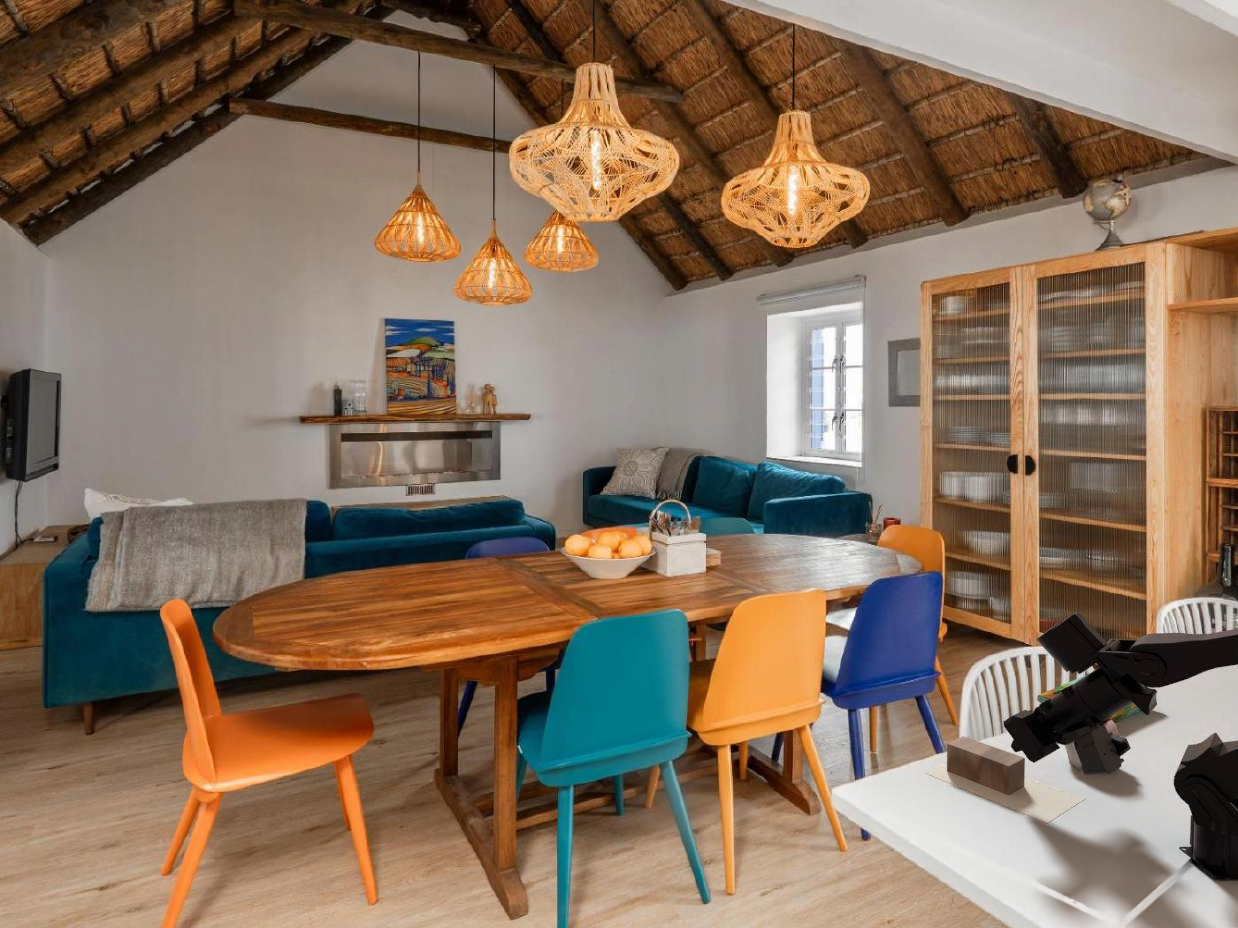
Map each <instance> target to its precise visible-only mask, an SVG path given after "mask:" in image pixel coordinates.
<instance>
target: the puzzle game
mask: <svg viewBox="0 0 1238 928" xmlns="http://www.w3.org/2000/svg"><path fill="white" fill-rule="evenodd" d="M1085 676H1086V675H1084V676H1081V677H1079V678H1076V679H1074V680H1071V681H1069V682H1066V683H1064V684H1062V685H1060V686H1056V687H1055V688H1052V689H1050V690H1047V691H1044V692H1042V693H1040V694H1038V695H1037V699H1036V700H1037V702H1039V703H1040V704H1041V703H1043V702H1044V701H1046V700H1049V699H1051V698H1053V697H1054V696H1056V695H1057V694H1059V693H1060V692H1061V690H1062V689H1064V688H1066V687H1068V686H1070V685H1072V684H1074V683H1076V682H1077V681H1079V680H1080V679H1082V678H1083V677H1085ZM1139 712H1142V711H1141V710H1140V709H1139V708H1138V707H1137V706H1136V705H1135V704H1134V703H1133V704H1131V705H1129V706H1128V707H1126V708H1124V709H1123V710H1121V711H1119V712H1118V713H1116V714H1114V715H1113V716H1112V717H1110V719H1111V720H1112V721H1113V722H1114V723H1115V724H1116V723H1117V722H1119V720H1120V721H1122V720H1123V719H1125V718H1128V717H1131V716H1132V715H1134V714H1137V713H1139ZM1121 719H1122V720H1121Z"/></svg>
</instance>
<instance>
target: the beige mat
mask: <svg viewBox="0 0 1238 928" xmlns="http://www.w3.org/2000/svg"><path fill="white" fill-rule="evenodd" d="M925 775H929V776H931V777H933V778H935V779H938V780H941V781H943V782H945V783H948V784H951V785H952V786H956V787H957V788H960V789H963V790H965V791H968V792H969V793H970V792H971V793H972V794H974V795H977V796H980V797H982V798H985V799H988V800H990V801H992V802H994V803H997V804H999V805H1002V806H1004V807H1007V808H1008V809H1012V810H1014V811H1017V812H1019V813H1021V814H1024V815H1026V816H1028V817H1031V818H1034V819H1036V820H1038V821H1041V822H1043V823H1046V824H1049V823H1050V822H1052V821H1053V820H1055V819H1057V818H1058V817H1060V816H1061V815H1064V814H1065V813H1066V812H1068V811H1069V810H1071V809H1072V808H1075V807H1076V806H1077V805H1079V804H1080V803H1081V802H1083V801H1084V800H1086V798H1083V797H1081V796H1078V795H1075V794H1072V793H1070V792H1067V791H1065V790H1062V789H1059V788H1057V787H1054V786H1051V785H1049V784H1046V783H1043V782H1041V781H1038V780H1036V779H1035V780H1034V779H1032V778H1029V777H1027V776H1025V779H1024V787H1023V788H1021V789H1019V790H1018V791H1016V792H1014V793H1012V794H1011V795H1009V796H1008V795H1006V794H1003V793H1001V792H998V791H996V790H993V789H991V788H988V787H986V786H983V785H981V784H978V783H976V782H973V781H971V780H968V779H966V778H963V777H961V776H958V775H956V774H953V773H951V772H948V771H947V761H946V762H945V763H942V764H941V765H938V766H935V768H931V769H930V770H928V771H926V772H925Z"/></svg>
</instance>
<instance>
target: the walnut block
mask: <svg viewBox="0 0 1238 928" xmlns="http://www.w3.org/2000/svg"><path fill="white" fill-rule="evenodd" d="M946 747H947V748H946V752H947V753H946V762H947V771H948V772H951V773H953V774H956V775H958V776H961V777H963V778H966V779H968V780H971V781H973V782H976V783H978V784H981V785H983V786H986V787H988V788H991V789H993V790H996V791H998V792H1001V793H1003V794H1006V795H1008V796H1009V795H1011V794H1012V793H1014V792H1016V791H1018V790H1019V789H1021V788H1023V787H1024V779H1025V777H1026V776H1025V774H1026V772H1025V770H1026V769H1025V767H1026V759H1025V756H1021V755H1018V754H1015V753H1013V752H1009V751H1006V750H1003V749H1001V748H998V747H995V746H992V745H989V744H987V743H983V742H981V741H979V740H978V741H977V740H975V739H972V738H969V737H966V736H961V737H958V738H956V739H954V740H951V741H950V742H948V743H947V744H946Z"/></svg>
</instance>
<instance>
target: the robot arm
mask: <svg viewBox="0 0 1238 928" xmlns="http://www.w3.org/2000/svg"><path fill="white" fill-rule="evenodd" d="M1035 640H1036V641H1037V642H1038V643H1039V645H1040V646H1041V647H1043V649H1044V650H1045V651H1046V652H1047V653H1048V654H1049V655H1050V656H1051V658H1053V660H1055V662H1056V663H1057V664H1058V665H1059V666H1060V668H1062V669H1063V670H1064V671H1065V672H1067V673H1068V672H1069V673H1071V674H1072V675H1073V674H1074V673H1077V675H1082V673H1084V672H1086V671H1087V670H1089V669H1090V668H1091V667H1093V666H1094V665H1096V666H1097V668H1095V669H1094V670H1093V671H1091V672H1089V673H1088V674H1086V675H1084V676H1085V677H1083V676H1082V677H1083V678H1082V679H1080V680H1079V681H1077V682H1076V683H1074V684H1072V685H1070V686H1068V687H1066V688H1064V689H1062V690H1061V692H1060V693H1059V694H1057V695H1056V696H1054V697H1053V698H1051V699H1049V700H1046V701H1044V702H1043V703H1040V704H1039V705H1038V706H1037V707H1035V708H1034V709H1033V710H1032V709H1030V710H1026V709H1024V710H1021V711H1019V712H1018V713H1015V714H1013V715H1011V716H1010V717H1008V718H1006V719H1005V720H1003V727H1004V729H1005V730H1006V731H1007V733H1008V734H1009V735H1010V736H1011V738H1012V739H1013V740H1012V741H1011V743H1010V748H1011V749H1012V750H1013V752H1015V753H1018V752H1021V751H1022V753H1023V754H1024V755H1025V757H1026V758H1027V759H1028V761H1030V762H1032V763H1033V764H1034V763H1036V762H1038V761H1040V760H1042V759H1044V758H1046V757H1048V756H1050V755H1051V754H1053V753H1055V752H1056V751H1057V750H1059V749H1061V746H1059V745H1062V746H1065V745H1068V744H1070V743H1072V742H1073V741H1074V747H1075V750H1076V752H1077V755H1078V757H1079V759H1080V762H1081V764H1082V766H1081V768H1082V770H1081V771H1082V772H1083V773H1084V775H1086V776H1098V775H1110V774H1113V773H1115V772H1116V771H1117V770H1119V769H1120V768H1121V767H1122V764H1123V763H1124V762H1125V760H1124V758H1121V757H1122V756H1123V755H1125V754H1126V753H1127V752H1128V751H1130V750H1131V744H1130V743H1129V740H1128V739H1127V738H1126V737H1124V736H1123V737H1122V736H1121V735H1120V736H1117V735H1114V734H1113V733H1112V732H1108V731H1107V729H1106V727H1105V725H1104V724H1105V723H1107V722H1108V721H1110V720H1111V719H1110V717H1112V716H1113V715H1114V714H1116V713H1118V712H1119V711H1121V710H1123V709H1124V708H1126V707H1128V706H1129V705H1131V704H1133V703H1134V704H1135V705H1136V706H1137V707H1138V708H1139V709H1140V710H1141V711H1140V712H1141V713H1143V714H1144V715H1145V716H1149V715H1150V714H1151V713H1152V712H1153V711H1154V709H1155V708H1156V707H1157V706H1158V701H1157V694H1158V689H1157V688H1159V689H1160V688H1164V687H1166V686H1167V687H1168V686H1171V685H1173V684H1176V683H1177V684H1178V683H1179V682H1183V681H1186V680H1188V679H1191V678H1193V677H1196V676H1199V675H1200V674H1203V673H1205V672H1207V671H1211V670H1213V669H1217V668H1218V669H1219V668H1225V667H1231V666H1232V667H1233V666H1238V628H1234V629H1229V630H1228V629H1227V630H1222V631H1217V632H1216V631H1215V632H1211V633H1185V632H1161V633H1158V632H1157V633H1146V634H1145V635H1142V636H1140V637H1139V638H1137V639H1136V638H1135V639H1133V638H1132V639H1131V638H1130V639H1129V638H1110V639H1109V640H1108V641H1107V640H1105V639H1104V638H1103V637H1102V636H1101V635H1100V634H1099V632H1098V631H1096V630H1095V628H1093V627H1092V626H1091V624H1090V623H1089V622H1088V620H1087V619H1086V617H1085V616H1084V615H1083V614H1082V613H1081V612H1079V611H1075V612H1074V613H1072V614H1071V615H1070V616H1068V617H1067V618H1066V619H1064V620H1060V621H1059V622H1057V623H1056V624H1055V625H1053V626H1052V627H1050V628H1049V629H1048V630H1046V631H1045V632H1044V633H1042V634H1041V635H1040V636H1038V638H1036V639H1035ZM1114 771H1115V772H1114ZM1112 772H1113V773H1112ZM1173 786H1174V790H1175V793H1176V794H1177V795H1178V797H1179V798H1180V799H1181V800H1182V801H1183V802H1184V803H1185V804H1186V805H1188V808H1189V811H1190V813H1191V815H1190V831H1189V846H1179V848H1178V850H1180V851H1181V852H1182V853H1184V855H1187V857H1189V859H1188V860H1189V861H1191V863H1193V864H1194V865H1196V866H1197V867H1198V868H1199V869H1200V870H1202V871H1203V872H1205V873H1206V874H1207V875H1209V876H1210V878H1212V879H1214V880H1221V881H1222V880H1238V740H1232V741H1231V740H1230V741H1223V740H1222V739H1221V737H1220V735H1219V734H1218V733H1217V732H1214V733H1212V734H1210V735H1209V736H1208V737H1207V738H1205V739H1204V740H1202V741H1201V742H1198V743H1194V744H1188V745H1187V747H1186V749H1185V751H1184V752H1183V756H1182V758H1181V760H1180V763H1179V765H1178V766H1177V769H1176V771H1175V773H1174V776H1173Z"/></svg>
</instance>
